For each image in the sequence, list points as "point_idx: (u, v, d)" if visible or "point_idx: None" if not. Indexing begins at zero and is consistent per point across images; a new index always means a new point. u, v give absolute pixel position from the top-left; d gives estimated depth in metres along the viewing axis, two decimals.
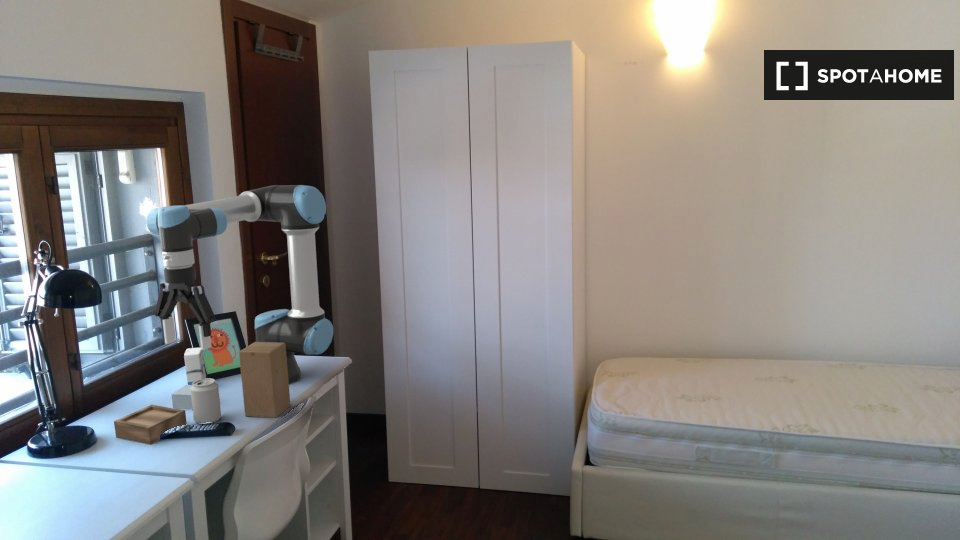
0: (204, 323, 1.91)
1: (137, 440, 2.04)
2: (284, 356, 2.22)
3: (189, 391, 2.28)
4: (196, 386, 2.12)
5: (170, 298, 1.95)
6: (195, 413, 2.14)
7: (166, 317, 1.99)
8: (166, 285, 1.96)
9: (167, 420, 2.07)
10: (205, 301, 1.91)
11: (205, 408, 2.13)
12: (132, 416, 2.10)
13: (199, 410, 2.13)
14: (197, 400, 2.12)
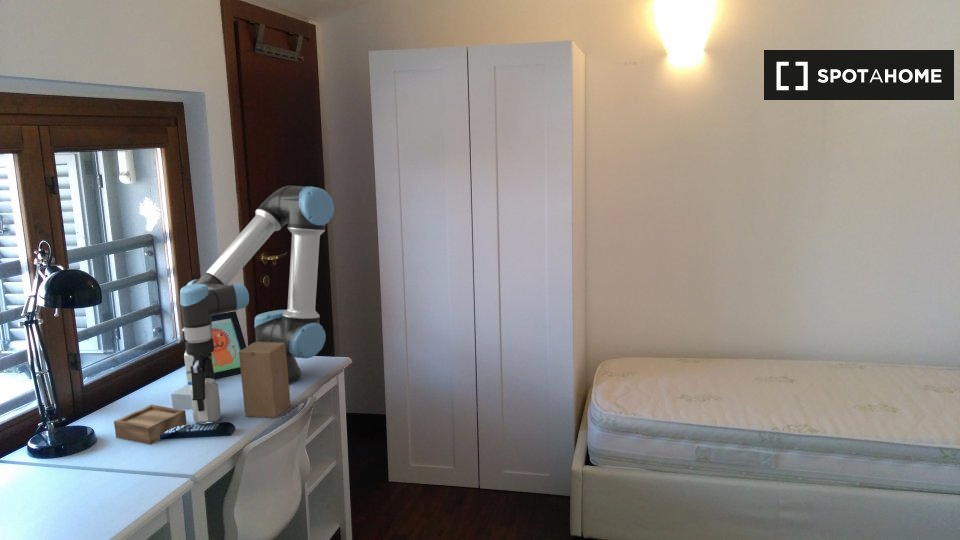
0: (196, 399, 2.10)
1: (137, 440, 2.04)
2: (284, 356, 2.22)
3: (189, 391, 2.28)
4: None
5: None
6: (195, 413, 2.14)
7: None
8: None
9: (167, 420, 2.07)
10: (197, 380, 2.08)
11: None
12: (132, 416, 2.10)
13: None
14: None
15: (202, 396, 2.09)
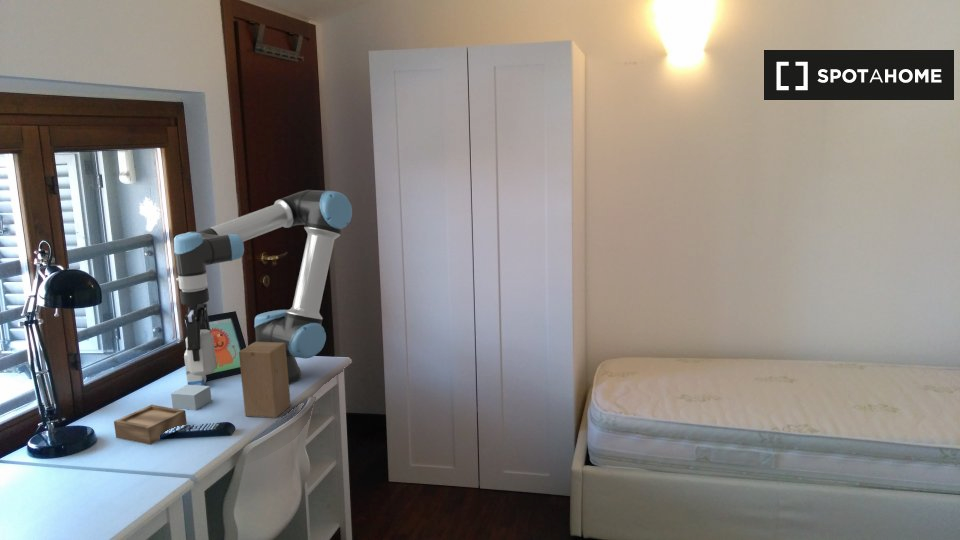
0: (191, 349, 2.08)
1: (137, 440, 2.04)
2: (284, 356, 2.22)
3: (189, 391, 2.28)
4: None
5: None
6: (190, 364, 2.11)
7: None
8: None
9: (167, 420, 2.07)
10: (192, 330, 2.05)
11: None
12: (132, 416, 2.10)
13: None
14: None
15: (197, 346, 2.06)
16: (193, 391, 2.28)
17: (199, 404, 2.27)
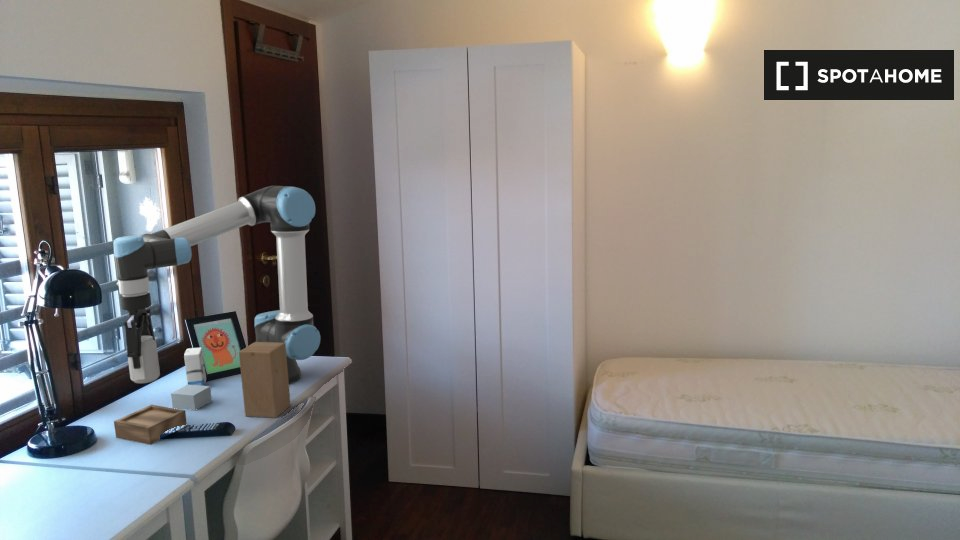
0: None
1: (137, 440, 2.04)
2: (284, 356, 2.22)
3: (188, 391, 2.28)
4: None
5: None
6: (131, 371, 2.04)
7: None
8: None
9: (167, 420, 2.07)
10: (132, 336, 1.98)
11: None
12: (132, 416, 2.10)
13: None
14: None
15: (137, 352, 1.99)
16: (192, 391, 2.28)
17: (199, 405, 2.27)
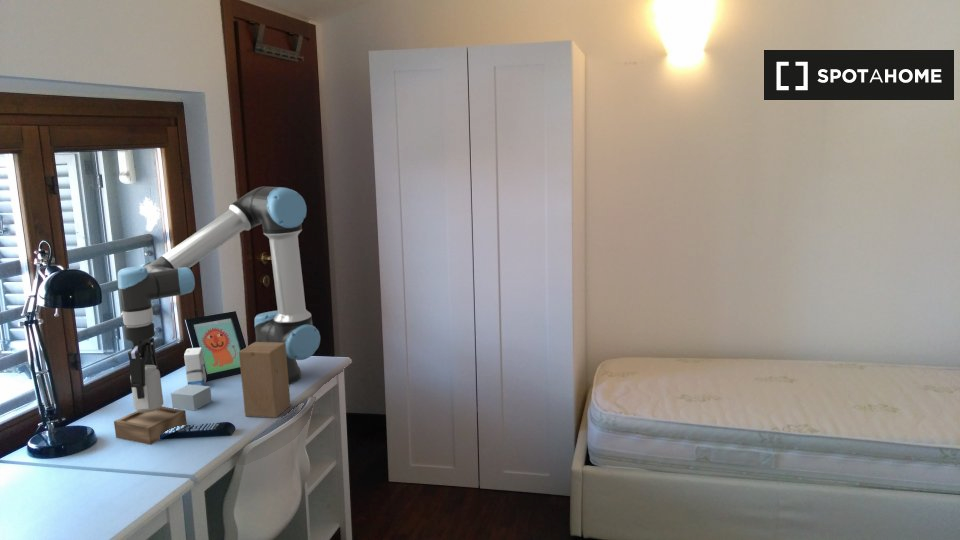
0: (135, 386, 2.02)
1: (137, 440, 2.04)
2: (284, 356, 2.22)
3: (188, 391, 2.28)
4: None
5: None
6: (135, 401, 2.05)
7: None
8: None
9: (167, 420, 2.07)
10: (136, 366, 2.00)
11: None
12: (132, 416, 2.10)
13: None
14: None
15: (141, 383, 2.01)
16: (192, 391, 2.28)
17: (198, 405, 2.27)
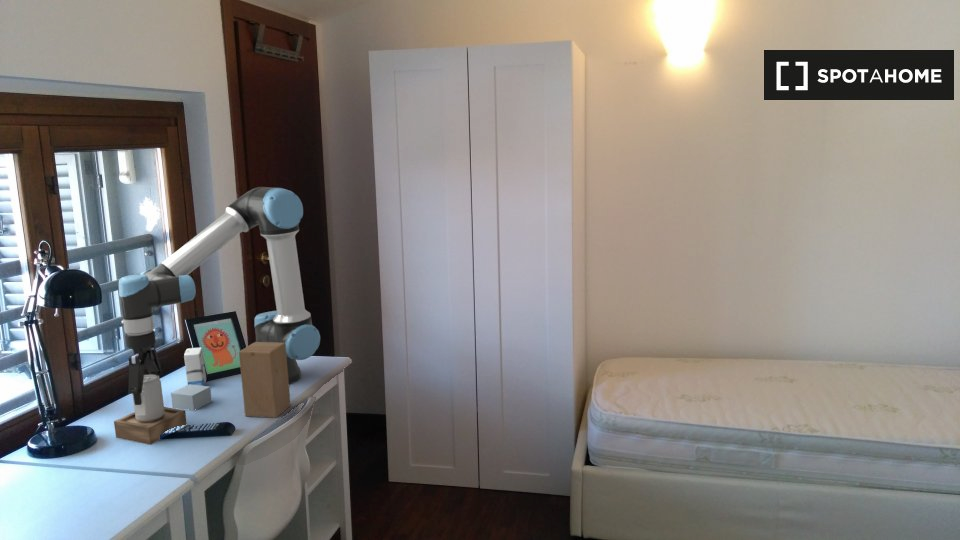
0: None
1: (137, 440, 2.04)
2: (284, 356, 2.22)
3: (188, 391, 2.28)
4: None
5: None
6: None
7: (153, 374, 2.14)
8: None
9: (167, 420, 2.07)
10: (135, 372, 1.99)
11: (146, 405, 2.05)
12: (132, 416, 2.10)
13: None
14: None
15: (138, 389, 1.99)
16: (192, 391, 2.28)
17: (198, 405, 2.27)
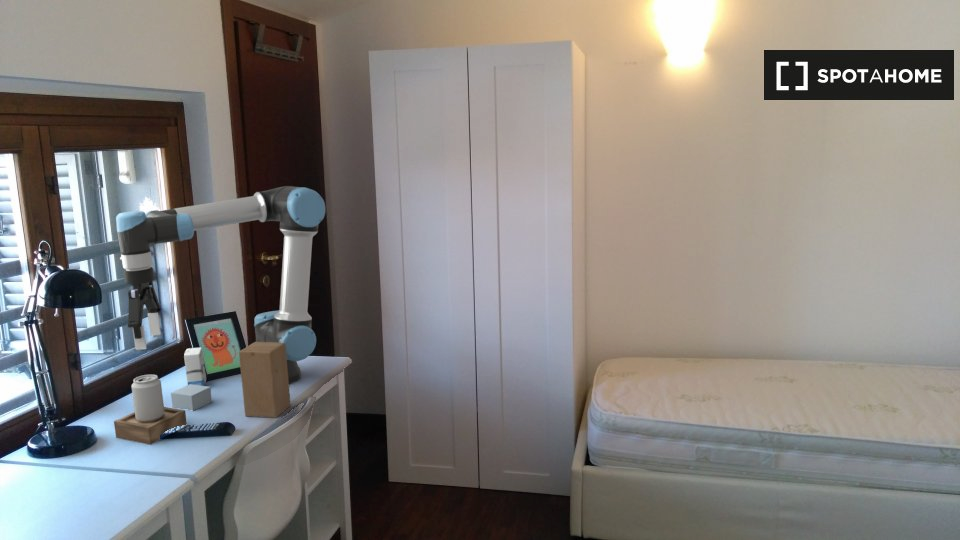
0: None
1: (137, 440, 2.04)
2: (284, 356, 2.22)
3: (188, 391, 2.28)
4: (137, 383, 2.05)
5: None
6: (136, 411, 2.06)
7: (152, 311, 2.16)
8: None
9: (167, 420, 2.07)
10: (134, 305, 2.00)
11: (146, 405, 2.05)
12: (132, 416, 2.10)
13: (140, 408, 2.05)
14: (138, 397, 2.05)
15: (138, 322, 2.00)
16: (192, 391, 2.28)
17: (197, 405, 2.27)
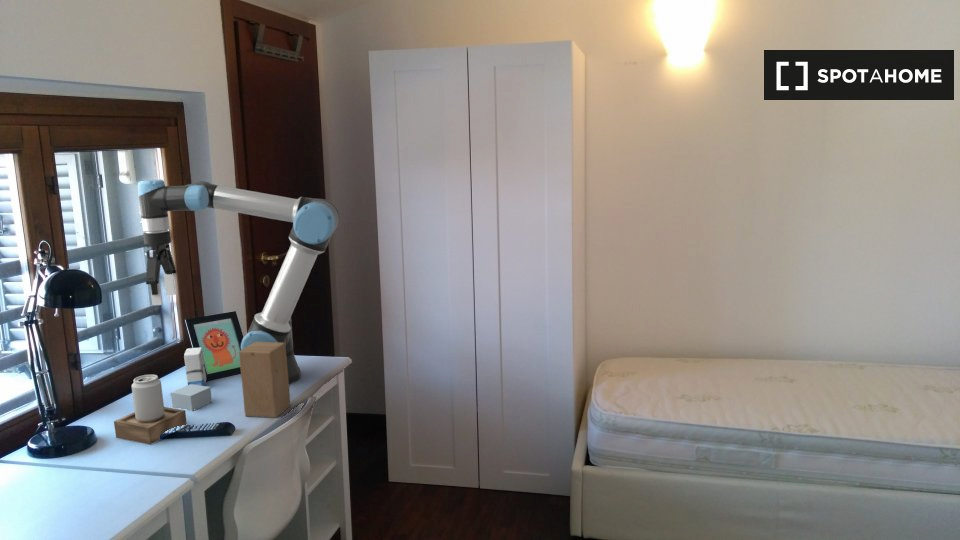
0: (149, 282, 2.21)
1: (137, 440, 2.04)
2: (284, 356, 2.22)
3: (188, 391, 2.28)
4: (137, 383, 2.05)
5: None
6: (136, 411, 2.06)
7: (168, 273, 2.36)
8: None
9: (167, 420, 2.07)
10: (152, 264, 2.21)
11: (146, 405, 2.05)
12: (132, 416, 2.10)
13: (140, 408, 2.05)
14: (138, 397, 2.05)
15: (155, 279, 2.20)
16: (191, 391, 2.28)
17: (196, 405, 2.27)
